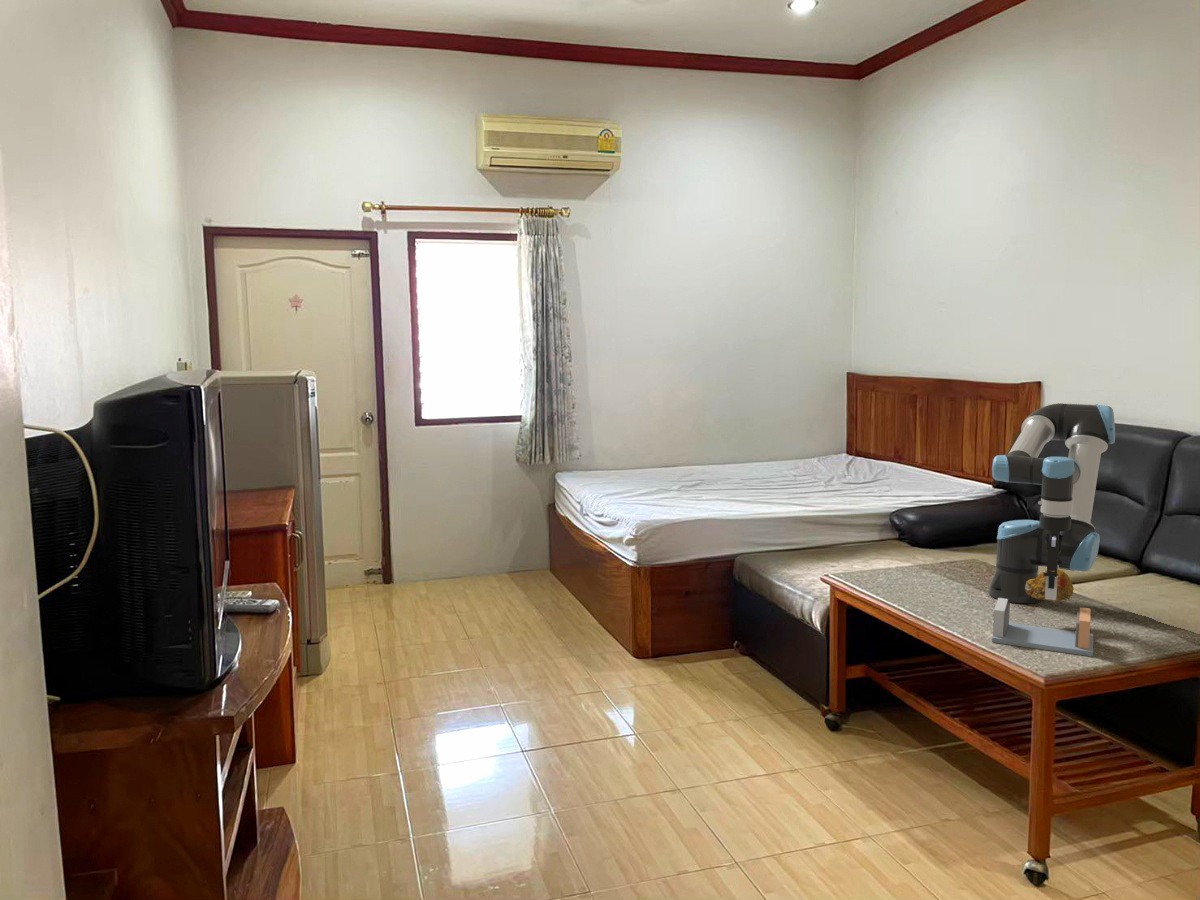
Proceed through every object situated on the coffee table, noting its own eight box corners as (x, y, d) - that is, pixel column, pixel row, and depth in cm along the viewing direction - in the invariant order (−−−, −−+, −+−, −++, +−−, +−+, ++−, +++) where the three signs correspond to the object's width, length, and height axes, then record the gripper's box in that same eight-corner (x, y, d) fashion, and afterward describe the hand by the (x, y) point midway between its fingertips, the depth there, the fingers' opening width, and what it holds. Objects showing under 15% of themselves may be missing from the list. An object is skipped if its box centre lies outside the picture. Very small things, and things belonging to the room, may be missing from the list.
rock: (1061, 618, 242) (1038, 594, 240) (1038, 613, 250) (1016, 590, 248) (1084, 586, 244) (1061, 562, 242) (1060, 582, 252) (1038, 559, 250)
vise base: (997, 625, 246) (998, 596, 245) (1092, 638, 235) (1094, 608, 234) (992, 642, 233) (993, 611, 232) (1092, 656, 222) (1095, 624, 221)
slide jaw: (1075, 632, 235) (1077, 607, 234) (1088, 634, 234) (1090, 608, 233) (1075, 647, 225) (1076, 620, 224) (1088, 649, 223) (1090, 621, 223)
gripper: (1042, 504, 253) (1038, 579, 257) (1037, 522, 233) (1033, 603, 237) (1072, 506, 250) (1067, 583, 253) (1070, 525, 230) (1065, 607, 233)
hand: (1051, 593), depth 245 cm, fingers closed on rock, 11 cm apart
